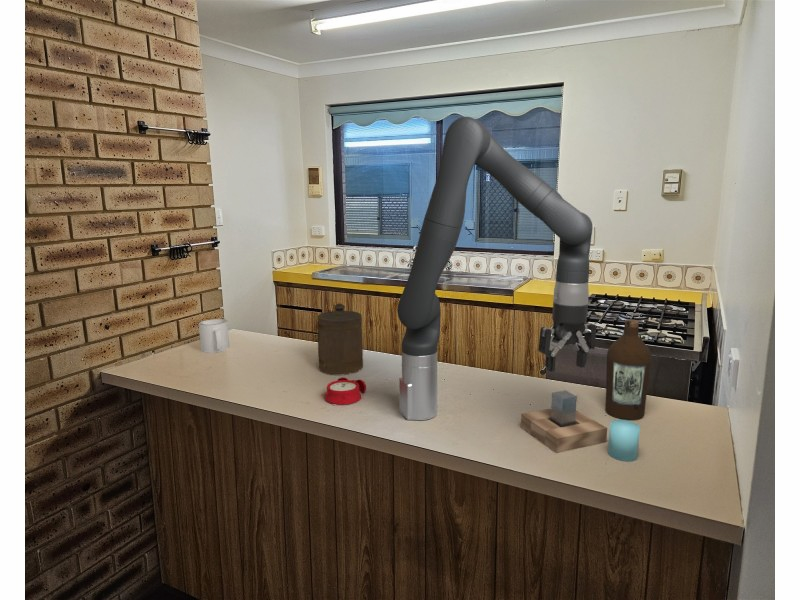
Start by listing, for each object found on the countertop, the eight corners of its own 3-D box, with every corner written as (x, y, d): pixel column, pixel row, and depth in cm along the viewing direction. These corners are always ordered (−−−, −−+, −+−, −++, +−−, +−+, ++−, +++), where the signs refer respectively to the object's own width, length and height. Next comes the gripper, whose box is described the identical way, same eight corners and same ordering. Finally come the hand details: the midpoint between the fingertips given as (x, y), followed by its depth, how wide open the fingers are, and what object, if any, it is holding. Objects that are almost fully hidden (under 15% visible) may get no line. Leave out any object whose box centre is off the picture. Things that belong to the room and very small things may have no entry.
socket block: (556, 453, 114) (557, 438, 113) (520, 427, 127) (521, 414, 126) (606, 441, 119) (607, 427, 118) (566, 418, 132) (567, 405, 131)
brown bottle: (602, 402, 141) (609, 314, 136) (645, 407, 137) (653, 317, 132) (602, 417, 132) (609, 323, 126) (648, 424, 128) (657, 327, 123)
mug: (235, 352, 190) (233, 324, 188) (207, 357, 185) (205, 328, 183) (224, 343, 201) (222, 317, 199) (197, 348, 195) (195, 321, 193)
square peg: (560, 438, 120) (562, 398, 118) (549, 431, 124) (551, 392, 122) (574, 435, 121) (576, 396, 119) (563, 428, 125) (565, 390, 123)
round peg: (622, 463, 109) (624, 433, 108) (601, 451, 115) (604, 422, 113) (643, 458, 111) (646, 428, 110) (622, 446, 117) (625, 417, 115)
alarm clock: (315, 392, 141) (339, 364, 154) (319, 411, 144) (342, 382, 157) (349, 397, 138) (371, 368, 151) (352, 416, 140) (373, 386, 153)
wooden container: (363, 360, 180) (362, 299, 175) (362, 374, 165) (360, 308, 161) (321, 361, 179) (319, 299, 175) (316, 375, 165) (313, 309, 160)
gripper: (555, 306, 110) (550, 377, 113) (607, 301, 115) (601, 370, 118) (534, 300, 117) (530, 367, 120) (584, 295, 122) (579, 360, 125)
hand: (565, 368), depth 119 cm, fingers open, 8 cm apart
